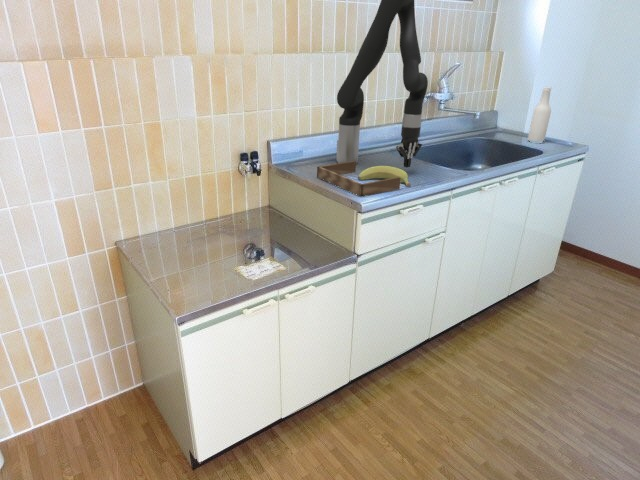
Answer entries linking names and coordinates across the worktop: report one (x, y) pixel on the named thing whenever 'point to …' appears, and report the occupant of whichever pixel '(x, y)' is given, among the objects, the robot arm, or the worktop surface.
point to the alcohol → (540, 117)
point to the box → (334, 177)
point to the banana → (384, 173)
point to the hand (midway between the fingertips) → (406, 166)
